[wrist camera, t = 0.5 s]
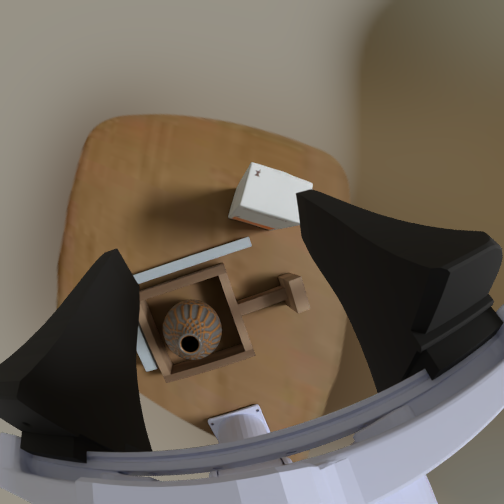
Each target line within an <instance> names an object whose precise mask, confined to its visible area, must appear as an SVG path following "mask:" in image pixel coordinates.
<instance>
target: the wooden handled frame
mask: <svg viewBox="0 0 504 504" xmlns="http://www.w3.org/2000/svg"><path fill="white" fill-rule="evenodd" d="M215 276H219V279H220V282H221V284H222V287H223V290H224V293H225V296H226V299H227V302H228V305H229V307H230V310H231V313H232V316H233V319H234V322H235V324H236V327H237V330H238V333H239V335H240V338H241V341H242V344H239V345H236V346H233V347H230V348H227V349H224V350H221V351H218V352H215V353H212V354H210V355H208V356H206V357H204V358H202V359H197V360H189V361H186V362H182V363H179V364H175V365H173V364H172V362H171V360H170V358H169V355H168V353H167V351H166V349H165V346H164V344H163V342H162V339H161V337H160V335H159V332H158V330H157V327H156V325H155V322H154V320H153V317H152V315H151V312H150V309H149V307H148V304H147V301H146V299H148V298H151V297H155V296H158V295H161V294H164V293H167V292H170V291H173V290H176V289H179V288H182V287H185V286H188V285H191V284H194V283H197V282H200V281H203V280H206V279H209V278H212V277H215ZM278 279H279V282H280V285H281V286H278V287H275V288H273V289H270V290H267V291H264V292H262V293H259V294H256V295H253V296H250V297H247V298H244V299H242V300H239V301H236V299H235V296H234V293H233V290H232V287H231V284H230V281H229V278H228V275H227V272H226V269H225V266H224V264H223V263H220V264H217V265H214V266H211V267H208V268H205V269H202V270H199V271H196V272H193V273H190V274H187V275H184V276H181V277H178V278H175V279H172V280H169V281H166V282H163V283H160V284H157V285H154V286H151V287H148V288H145V289H142V290H139V293H140V312H139V323H140V325H141V328H142V330H143V332H144V335H145V337H146V340H147V342H148V344H149V347H150V349H151V351H152V353H153V356H154V358H155V360H156V362H157V364H158V366H159V368H160V371H161V373H162V375H163V377H164V379H165V381H166V383H168V382H172V381H176V380H179V379H183V378H187V377H190V376H194V375H197V374H200V373H204V372H207V371H210V370H214V369H217V368H220V367H223V366H226V365H229V364H232V363H235V362H238V361H241V360H244V359H247V358H250V357H253V356H256V355H255V352H254V350H253V347H252V344H251V341H250V339H249V336H248V333H247V330H246V327H245V324H244V322H243V319H242V316H243V315H245V314H248V313H251V312H254V311H257V310H260V309H262V308H265V307H268V306H271V305H273V304H276V303H279V302H281V301H284V300H285V302H286V305H287V306H289V307H290V308H291V309H293V310H294V311H296V312H297V313H301V312H303V311H306V310H308V309H311V308H310V305H309V301H308V298H307V294H306V291H305V287H304V284H303V280H302V277H301V276H298V275H295V274H292V273H287V274H284V275H281V276H278Z"/></svg>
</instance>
